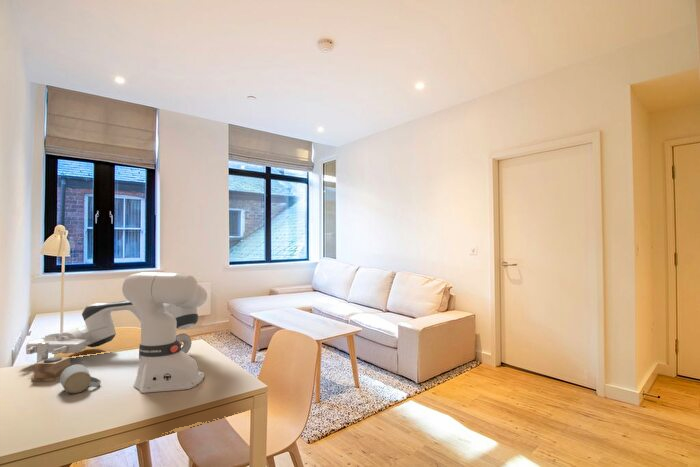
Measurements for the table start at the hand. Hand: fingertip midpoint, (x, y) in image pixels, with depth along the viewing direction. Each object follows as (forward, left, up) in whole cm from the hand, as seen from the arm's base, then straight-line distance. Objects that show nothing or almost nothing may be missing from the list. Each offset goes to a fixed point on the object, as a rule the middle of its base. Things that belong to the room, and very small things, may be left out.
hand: (40, 352), depth 133 cm
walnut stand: (-10, +7, -7) cm, 14 cm away
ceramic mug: (-28, +18, -7) cm, 33 cm away
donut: (-46, -16, -7) cm, 49 cm away
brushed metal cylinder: (0, -1, -7) cm, 7 cm away
